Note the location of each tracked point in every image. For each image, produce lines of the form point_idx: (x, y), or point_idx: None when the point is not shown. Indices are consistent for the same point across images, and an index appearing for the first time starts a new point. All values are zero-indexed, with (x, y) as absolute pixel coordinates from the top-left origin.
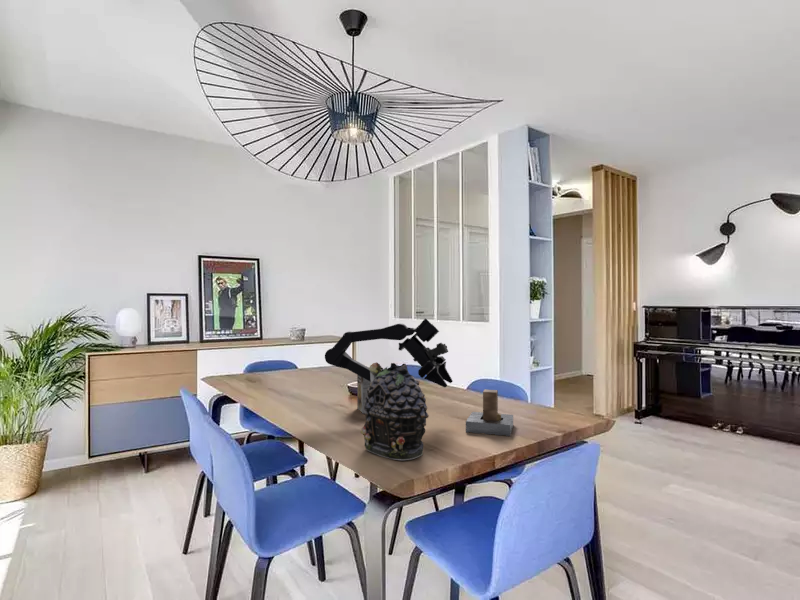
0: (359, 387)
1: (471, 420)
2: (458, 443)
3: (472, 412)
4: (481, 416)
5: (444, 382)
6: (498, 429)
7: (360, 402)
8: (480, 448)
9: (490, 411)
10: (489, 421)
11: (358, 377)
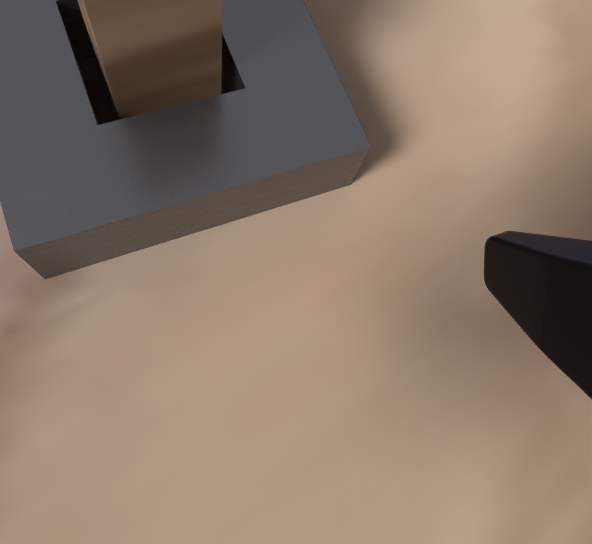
0: None
1: (320, 123)
2: (562, 119)
3: (46, 235)
4: (147, 113)
5: (584, 246)
6: None
7: None
8: (542, 7)
9: None
10: (255, 15)
11: None
